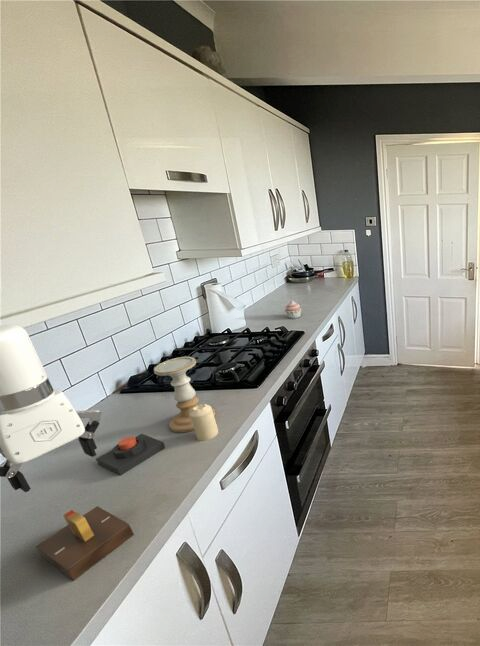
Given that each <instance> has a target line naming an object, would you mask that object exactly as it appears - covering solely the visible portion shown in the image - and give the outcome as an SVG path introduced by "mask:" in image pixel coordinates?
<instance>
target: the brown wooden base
mask: <svg viewBox="0 0 480 646" xmlns="http://www.w3.org/2000/svg"><path fill="white" fill-rule="evenodd" d="M82 516H83V517H85V519H86V521H87V523H88V525H89V526H90V528H91V530H92V532H93V534H94V536H93V537H91V538H90V539H88V540H87V541H86V542H85V541H83V540H82V539H80V538H79V537H77V536H76V535H74V534H73V533H72V531H71V529H70V527H69V526H68V524H67V525H66V526H64V527H63V528H62V529H60V530H58V531H57V532H55V533H54V534H52V535H51V536H49V537H48V538H46V539H45V540H42V541H41V542H39V543H38V544H37V545H35V547H36V550H38V552H39V554H40V555H41V557H42V558H43V559H45V560H46V561H47V562H48V563H50V564H51V565H53V566H54V567H55V568H57V570H59V571H61V572H62V573H63V574H64V575H65V576H67V577H69V578H70V579H71V580H72V581H75V580H77V579H78V578H79V577H80V576H82V575H83V574H85V572H87V571H89V569H91V568H92V567H94V566H95V565H96V564H97V563H99V562H100V561H101V560H103V559H104V558H106V557H107V556H108V555H109V554H111V553H112V552H113V551H114V550H116V549H117V548H118V547H119V546H121V545H122V544H124V543H125V542H127V540H129V539H130V538H131V537H133V536H134V535H135V534H134V531H133V529H132V527H131V525H130V524H129V523H128V522H126V521H124V520H123V519H121V518H118V517H117V516H116V515H114V514H112V513H110V512H108V511H107V510H105V509H103V508H102V507H99V506H95V507H94V508H92V509H91V510H89V511H88V512H86V513H84V514H83V515H82Z"/></svg>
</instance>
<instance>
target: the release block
mask: <svg viewBox="0 0 480 646" xmlns="http://www.w3.org/2000/svg"><path fill="white" fill-rule="evenodd" d="M134 437H135V439H136V441H137V444H136V445H135V446H133V447H132V448H129V449H126V450H120V448H119V445H118V443H117V444H116V445H115V446H114V447H113V448H112V449H111V450H109V451H107V452H105V453H104V454H102V455H100V456H98V457H97V458H95V461H96V462H97V464H98V466H100V467H102V468H104V469H106V470H108V471H110V472H112V473H114V474H116V475H118V476H119V477H120V476H122V475H124V474H126V473H127V472H129V471H131V470H132V469H134V468H135V467H137V466H139V465H140V464H142V463H144V462H146V461H147V460H148V459H150V458H152V457H154V456H155V455H156V454H158V453H160V452H162V451H163V450H165V449H166V446H165V444H164V442H163V440H159V439H157V438H154V437H152V436H149V435H147V434H144V433H140V434H138V435H136V436H134Z"/></svg>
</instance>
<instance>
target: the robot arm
mask: <svg viewBox="0 0 480 646" xmlns="http://www.w3.org/2000/svg"><path fill="white" fill-rule="evenodd" d="M101 417H102V411H100V410H99V409H88V410H76V409H75V407H74V406H73V404H72V403H71V400H70V399H69V398H68V397H67V396H66V395H65V393H64V392H63V391H62V390H61V389H59V388H54V387H53V385H52V383H51V381H50V379H49V377H48V374H47V373H46V370H45V367H44V366H43V364H42V361H41V359H40V356H39V354H38V353H37V351H36V348H35V346H34V343H33V342H32V340H31V338H30V336H29V334H28V332H27V330H26V329H25V328H23V327H22V326H20V325H16V324H2V325H0V455H2V457H3V458H5V460H4V462H3V463H2V465H1V466H0V478H6V479H7V481H8V482H9V484H10V486H11V487H12V489H13V490H15V491H17V490H21V491H23V493H28V492H29V491H30V490H31V489H32V487H31V486H30V485H29V483H28V480H27V479H26V478H25V475H24V474H23V472H21V471H20V468H21V466H22V464H25V463H28V462H31V461H33V460H35V459H37V458H39V457H41V456H44V455H45V454H47V453H50V452H52V451H54V450H57V449H58V448H60V447H62V446H65V445H67V444H69V443H70V442H72V441H75V440H76V439H77V440H78V443H79V445H80V446H81V449H82V451H83V453H84V454H85V455H87V456H89V457H91V458H94V457H96V456H97V453H96V451H95V450H97V448H98V447H97V445H96V442H95V440H94V437H95V432H96V431H97V429H98V428H99V426H100V421H101ZM82 419H88V422H87V423H86V424H85V425H84V423H83V422H82Z"/></svg>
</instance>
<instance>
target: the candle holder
mask: <svg viewBox="0 0 480 646" xmlns="http://www.w3.org/2000/svg"><path fill="white" fill-rule="evenodd" d="M196 364H197V359H196V357H193V356H180V357H175V358H171V359H167V360H165V361H163V362H160V363H159V364H157V365H155V366H154V368H153V373H154V374H155V375H156V376H162V377H164V376H166V377H167V376H169V377H170V378H171V379H172V380H171V382H170V385H171V387H173V389H174V394H173V396H174V397H173V398H174V400H175V402H177V403H176V404H175V406H176V408H177V409H179V410H180V412H178V413H177V414H176V415H175V416H173V418H171V420H170V421H169V423H168V426H169V429H170V431H171V432H173V433H178V434H183V433H189V432H193V431H195V430H194V427H193V424H192V421H191V418H190V415H189V413H190V412H191V410H192V409H193V408H195V407H197V406H199V404H198V403H199V401H200V398H199V397H197V396H196V394H197V392H196V390H195V388H193V386H192V385H191V383H190V382H191V379H192V378H191V377H190V376H188V375H187V371H188V370H190V369H192V368H194V367H195V366H196ZM212 411H213V414H214V417H215V418H216V410H215V409H214V407H212Z"/></svg>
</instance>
